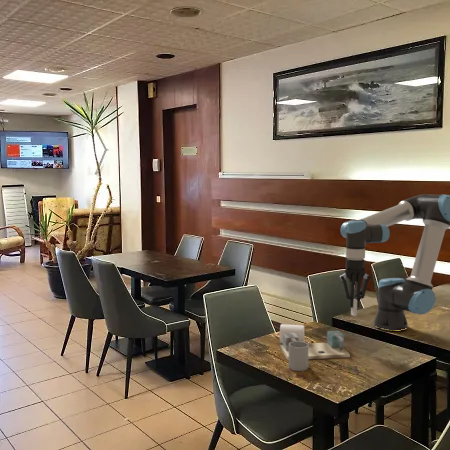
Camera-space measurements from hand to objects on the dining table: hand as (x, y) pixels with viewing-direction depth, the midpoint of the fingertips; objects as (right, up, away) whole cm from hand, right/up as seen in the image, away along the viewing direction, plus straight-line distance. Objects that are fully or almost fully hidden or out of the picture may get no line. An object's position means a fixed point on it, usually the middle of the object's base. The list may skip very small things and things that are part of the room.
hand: (353, 315), depth 200 cm
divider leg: (-7, -13, -1) cm, 15 cm away
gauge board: (-17, -14, -3) cm, 23 cm away
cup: (-26, -16, -18) cm, 35 cm away
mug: (-24, -13, +9) cm, 29 cm away
